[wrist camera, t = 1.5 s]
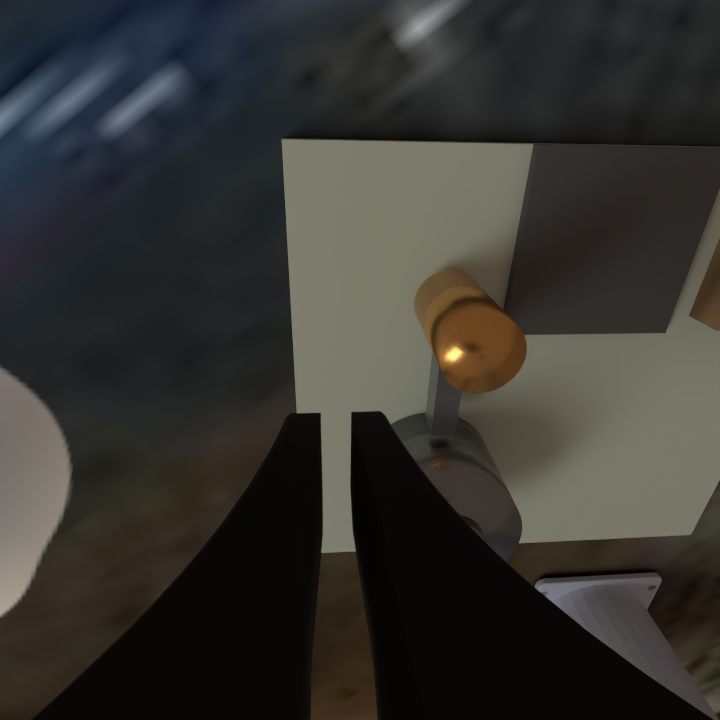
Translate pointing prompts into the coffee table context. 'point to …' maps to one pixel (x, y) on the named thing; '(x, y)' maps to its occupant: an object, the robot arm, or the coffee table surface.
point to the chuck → (465, 479)
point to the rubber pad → (608, 236)
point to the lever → (464, 344)
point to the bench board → (544, 352)
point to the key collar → (709, 295)
